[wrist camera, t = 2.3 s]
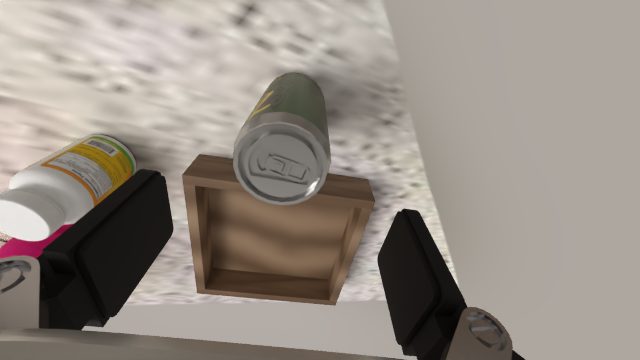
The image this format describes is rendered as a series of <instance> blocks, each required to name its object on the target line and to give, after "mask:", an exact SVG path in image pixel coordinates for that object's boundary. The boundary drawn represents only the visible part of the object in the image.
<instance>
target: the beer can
mask: <svg viewBox="0 0 640 360" xmlns="http://www.w3.org/2000/svg"><path fill="white" fill-rule="evenodd" d="M330 164H331V154H330V144H329V135H328V127H327V119H326V110H325V102H324V96H323V94H322V91H321V89H320V87H319V86H318V85H317V84H316V83H315V82H314V80H312V79H310V78H309V77H307V76H305V75H302V74H298V73H289V74H284V75H282V76H280V77H278V78H276V79H275V80H274V81H273V82H272V83H271V84H270V85H269V87H268V88H267V90H266V91H265V93H264V94H263V96H262V97H261V99H260V101H259V102H258V104H257V105H256V107H255V108H254V110H253V111H252V113H251V114H250V116H249V118H248V119H247V121H246V122H245V124H244V125H243V127H242V128H241V130H240V132H239V134H238V136H237V139H236V141H235V143H234V158H233V167H234V170H235V174H236V177H237V179H238V181H239V182H240V183H241V185H242V186H243V187H244V189H245V190H246V191H248V192H249V193H250V194H251V195H253V196H254V197H255V198H257V199H260V200H262V201H264V202H267V203H270V204H277V205H292V204H297V203H300V202H303V201H305V200H308V199H309V198H310V197H312V196H313V195H315V194H316V193H317V192H318V191H319V189H320V188H321V187H322V185H323V184H324V182H325V179H326V176H327V174H328V171H329V167H330Z"/></svg>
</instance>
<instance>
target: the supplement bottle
mask: <svg viewBox="0 0 640 360" xmlns="http://www.w3.org/2000/svg"><path fill="white" fill-rule="evenodd" d="M135 172H136V161H135V158H134V156H133V155H132V153H131V152H130V151H129V150H128V148H126V147H125V146H124V145H123V144H122V143H120V142H119V141H117V140H115V139H113V138H111V137H108V136H104V135H89V136H86V137H84V138H82V139H80V140H78V141H76V142H74V143H72V144H70V145H68V146H66V147H64V148H63V149H61V150H59V151H57V152H55V153H53V154H51V155H49V156H48V157H46V158H44V159H42V160H40V161H38V162H36V163H34V164H32V165H30V166H28V167H27V168H25V169H23V170H22V171H20V172H18V173H17V174H15V175H14V176H13V177H12V179H11V181H10V183H9V190H7V191H5V192H2V193H1V194H0V231H1V232H3V233H5V234H7V235H9V236H11V237H14V238H17V239H21V240H26V241H40V240H44V239H46V238H48V237H49V236H50V235H52V234H53V233H54V232H55V231H56V230H58V229H59V228H60V227H61V226H62V225H66V224H74V223H75V222H77V221H78V220H79V219H80V218H82V217H83V216H84V215H85V214H86V213H88V212H89V211H90V210H91V209H92V208H94V207H95V206H96V205H97V204H99V203H100V202H101V201H102V200H103V199H105V198H106V197H107V196H108V195H109V194H111V193H112V192H113V191H114V190H116V189H117V188H118V187H119V186H120V185H122V184H123V183H124V182H125V181H127V180H128V179H129V178H130V177H131V176H133V175H134V174H135Z"/></svg>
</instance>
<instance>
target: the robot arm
mask: <svg viewBox="0 0 640 360" xmlns="http://www.w3.org/2000/svg"><path fill="white" fill-rule="evenodd" d="M172 233H173V222H172V216H171V210H170V204H169V198H168V192H167V186H166V180H165V177H164V176H161V174H160V172H158V171H153V170H146V169H140V170H139V171H137V172H136V173H135V174H134V175H133V176H131V177H130V178H129V179H128V180H127V181H125V182H124V183H123V184H122V185H120V186H119V187H118V188H117V189H116V190H114V191H113V192H112V193H111V194H109V195H108V196H107V197H106V198H105V199H103V200H102V201H101V202H100V203H99V204H97V205H96V206H95V207H94V208H92V209H91V210H90V211H89V212H88V213H86V214H85V215H84V216H83V217H82V218H80V219H79V220H78V221H77V222H75V223H74V224H73V225H72V226H71V227H69V228H68V229H67V230H66V231H64V232H63V233H62V234H61V235H60V236H58V237H57V238H56V239H55V240H54V241H52V242H51V243H50V244H49V245H47V246H46V247H45V248H44V249H43V250H42V252H43V253H42V254H41V255H40V256H38V257H37V258H36V259H35V258H34V257H30V256H25V255H23V256H11V257H6V258H1V259H0V360H403V359H395V358H386V357H377V356H366V355H357V354H346V353H335V352H326V351H314V350H305V349H294V348H283V347H272V346H261V345H250V344H238V343H228V342H216V341H206V340H194V339H182V338H171V337H159V336H148V335H135V334H124V333H110V332H96V331H82V328H83V327H84V326H95V327H104V325H105V324H106V322H107V321H108V320H109V318H110V317H114V316H115V315H117V313H118V312H119V311H120V309H121V308H122V306H123V305H124V304H125V302H126V301H127V299H128V298H129V296H130V295H131V293H132V292H133V291H134V289H135V288H136V286H137V285H138V283H139V282H140V280H141V279H142V278H143V276H144V275H145V273H146V272H147V270H148V269H149V268H150V266H151V265H152V263H153V262H154V260H155V259H156V257H157V256H158V255H159V253H160V252H161V250H162V249H163V247H164V246H165V244H166V243H167V242H168V240H169V239H170V237H171V236H172ZM378 266H379V270H380V274H381V279H382V283H383V287H384V291H385V295H386V299H387V304H388V308H389V311H390V316H391V320H392V325H393V329H394V333H395V337H396V341H397V343H398V344H399V345H401V346H402V350H403V354H404V355H409V356H417V359H418V360H525V359H524V358H522V357H521V356H520V355H518V354H517V353H516V352H515V351H513V350H512V349H513V347H512V340H511V338H510V336H509V333H508V332H507V330H506V329H505V327H504V326H503V325H502V324H501V323H500V322H499V321H498V320H497V319H496V318H495V317H494V316H492V315H491V314H490V313H488V312H486V311H484V310H482V309H479V308H476V307H467V305H466V303H465V301H464V298H463V296H462V294H461V292H460V290H459V288H458V286H457V284H456V282H455V281H454V279H453V277H452V275H451V273H450V271H449V269H448V267H447V265H446V263H445V261H444V259H443V257H442V255H441V254H440V252H439V250H438V248H437V246H436V244H435V242H434V240H433V238H432V236H431V234H430V232H429V230H428V228H427V227H426V225H425V223H424V221H423V219H422V217H421V215H420V213H419V212H418V211H416V210H410V209H403V210H402V211H401V212H400V211H399V212H397V214H396V216H395V219H394V221H393V223H392V225H391V227H390V230H389V232H388V234H387V236H386V239H385V241H384V243H383V245H382V248H381V250H380V252H379V254H378Z"/></svg>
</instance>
